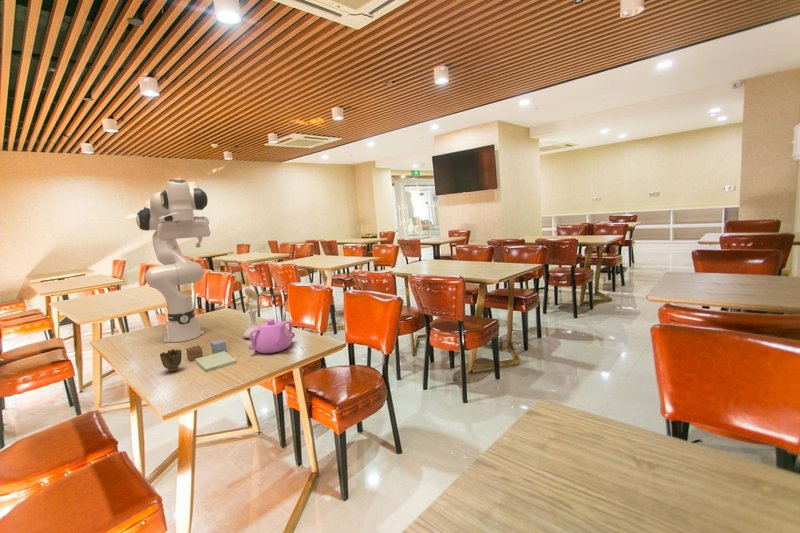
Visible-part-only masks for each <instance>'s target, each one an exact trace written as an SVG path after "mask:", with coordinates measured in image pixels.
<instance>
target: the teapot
mask: <svg viewBox="0 0 800 533" xmlns="http://www.w3.org/2000/svg"><path fill="white" fill-rule="evenodd" d="M286 324H288V326H289V327H287V325H286ZM292 331H293V322H291V321H290V320H284V321H281V320H275V319H274V318H269V319H268V318H267V320H266V322H263V323H261V324H260V325H259V327H258V329H254V330H252V331H251V332H250V334H249V337H250V338H249V339H250V342H251V343H249V345H248V350H250V351H254V350H255V351H257V353H260V354H261V353H262V354H272V353H273V354H274V353H277V352H281V351H284V350H286V349H287V348H289V347H290V346H291V344H292V343H293V338H294V337H295V335H296V334H295V333H294V332H292ZM254 332H256V333H255V335H254V338H253V337H252V335H253V333H254Z"/></svg>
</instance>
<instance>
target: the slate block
mask: <svg viewBox="0 0 800 533" xmlns="http://www.w3.org/2000/svg"><path fill="white" fill-rule="evenodd" d="M210 346H211V353H212V354H215V353H219V352H223V351H225V352H226V353H228V350H227V343H226V341H225V340H224V339H218V340H213V341H211V342H210Z"/></svg>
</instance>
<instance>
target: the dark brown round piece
mask: <svg viewBox="0 0 800 533" xmlns="http://www.w3.org/2000/svg"><path fill="white" fill-rule="evenodd" d="M159 357H160V360H161V364H162V366H163V367H164V368H165V369H167V372H168V373H174V372H178V370H179V366H180V365H181V363H182V349H180V348H179V349H174V348H173V349H171V350H170V349H168V350H167V352H165V351H163V352H160V354H159Z"/></svg>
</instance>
